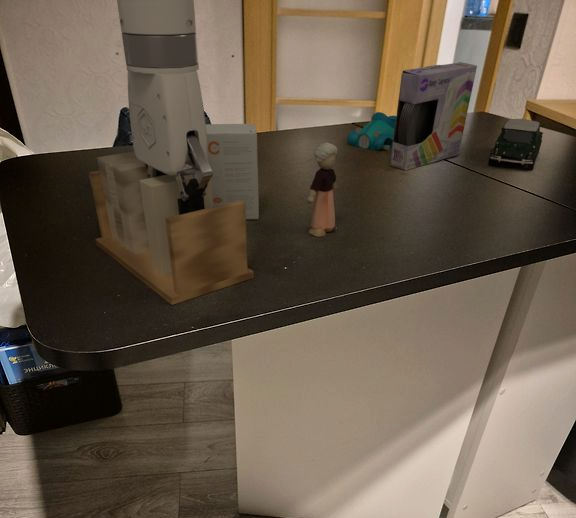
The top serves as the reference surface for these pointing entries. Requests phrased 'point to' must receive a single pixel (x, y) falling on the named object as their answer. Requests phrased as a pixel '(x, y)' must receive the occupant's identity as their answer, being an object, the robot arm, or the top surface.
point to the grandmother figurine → (323, 191)
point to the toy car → (375, 133)
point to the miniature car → (518, 142)
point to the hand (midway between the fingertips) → (179, 220)
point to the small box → (234, 165)
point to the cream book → (163, 215)
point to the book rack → (180, 230)
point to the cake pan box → (431, 114)
